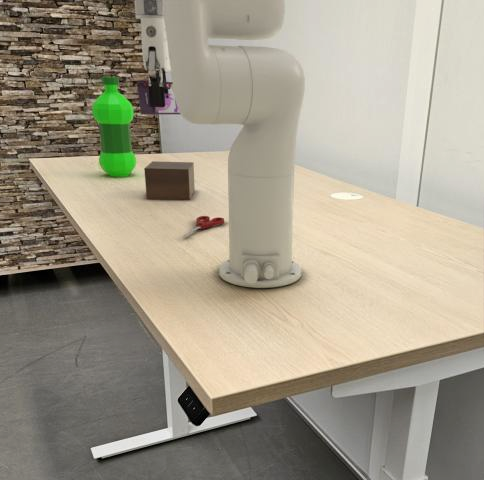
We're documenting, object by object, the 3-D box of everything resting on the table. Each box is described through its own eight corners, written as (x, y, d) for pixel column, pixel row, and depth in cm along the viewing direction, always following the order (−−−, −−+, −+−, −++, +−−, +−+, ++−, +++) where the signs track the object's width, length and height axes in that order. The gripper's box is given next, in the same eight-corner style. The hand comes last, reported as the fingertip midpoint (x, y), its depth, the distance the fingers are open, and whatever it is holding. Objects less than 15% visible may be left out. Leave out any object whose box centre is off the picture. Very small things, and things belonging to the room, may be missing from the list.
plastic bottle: (141, 177, 157) (133, 78, 147) (100, 179, 153) (89, 77, 143) (136, 171, 165) (128, 76, 155) (97, 172, 162) (87, 75, 151)
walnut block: (189, 199, 134) (188, 169, 131) (146, 198, 134) (144, 168, 131) (194, 191, 143) (193, 162, 140) (154, 190, 143) (152, 161, 140)
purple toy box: (137, 80, 121) (179, 81, 125) (133, 88, 126) (174, 88, 129) (141, 113, 122) (183, 113, 125) (138, 119, 127) (178, 119, 130)
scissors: (226, 222, 116) (225, 217, 116) (197, 240, 104) (197, 234, 104) (201, 219, 117) (201, 214, 117) (170, 237, 105) (169, 231, 105)
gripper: (165, 8, 111) (171, 109, 118) (177, 15, 126) (182, 104, 134) (126, 7, 110) (134, 108, 118) (143, 13, 126) (149, 103, 133)
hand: (159, 105), depth 126 cm, fingers closed on purple toy box, 4 cm apart
